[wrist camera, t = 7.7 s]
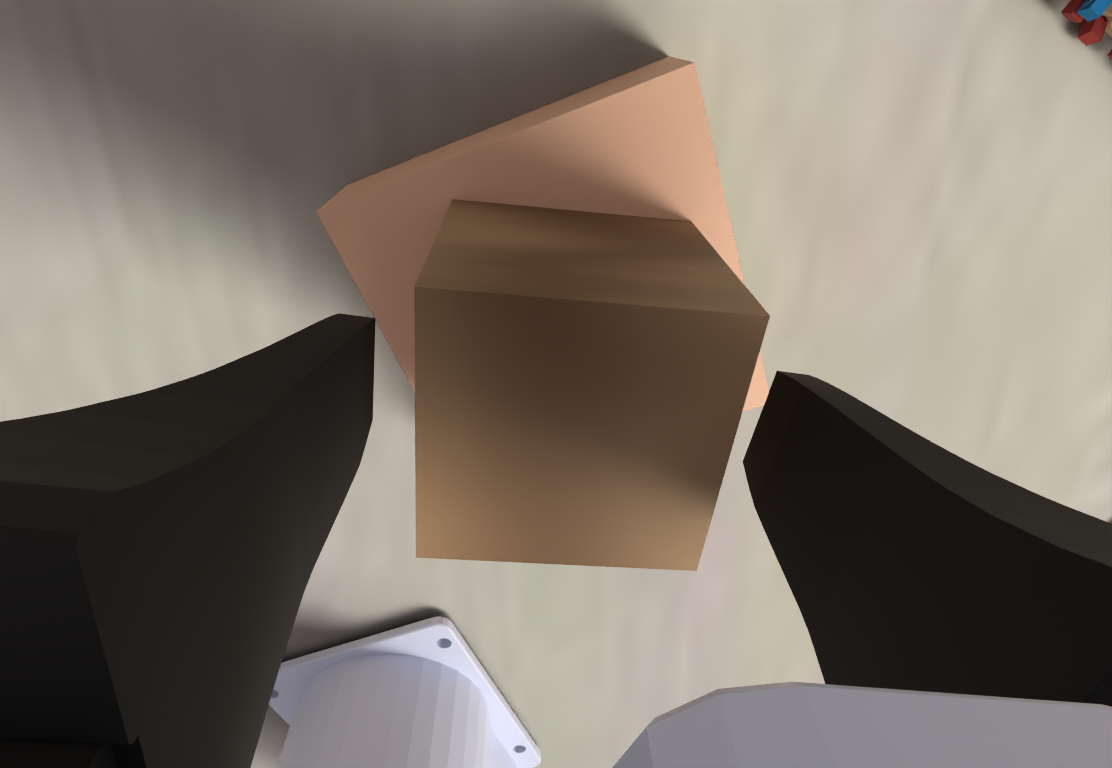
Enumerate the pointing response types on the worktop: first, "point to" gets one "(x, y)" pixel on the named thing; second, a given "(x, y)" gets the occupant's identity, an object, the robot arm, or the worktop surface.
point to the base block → (541, 186)
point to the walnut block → (575, 386)
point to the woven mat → (1091, 19)
